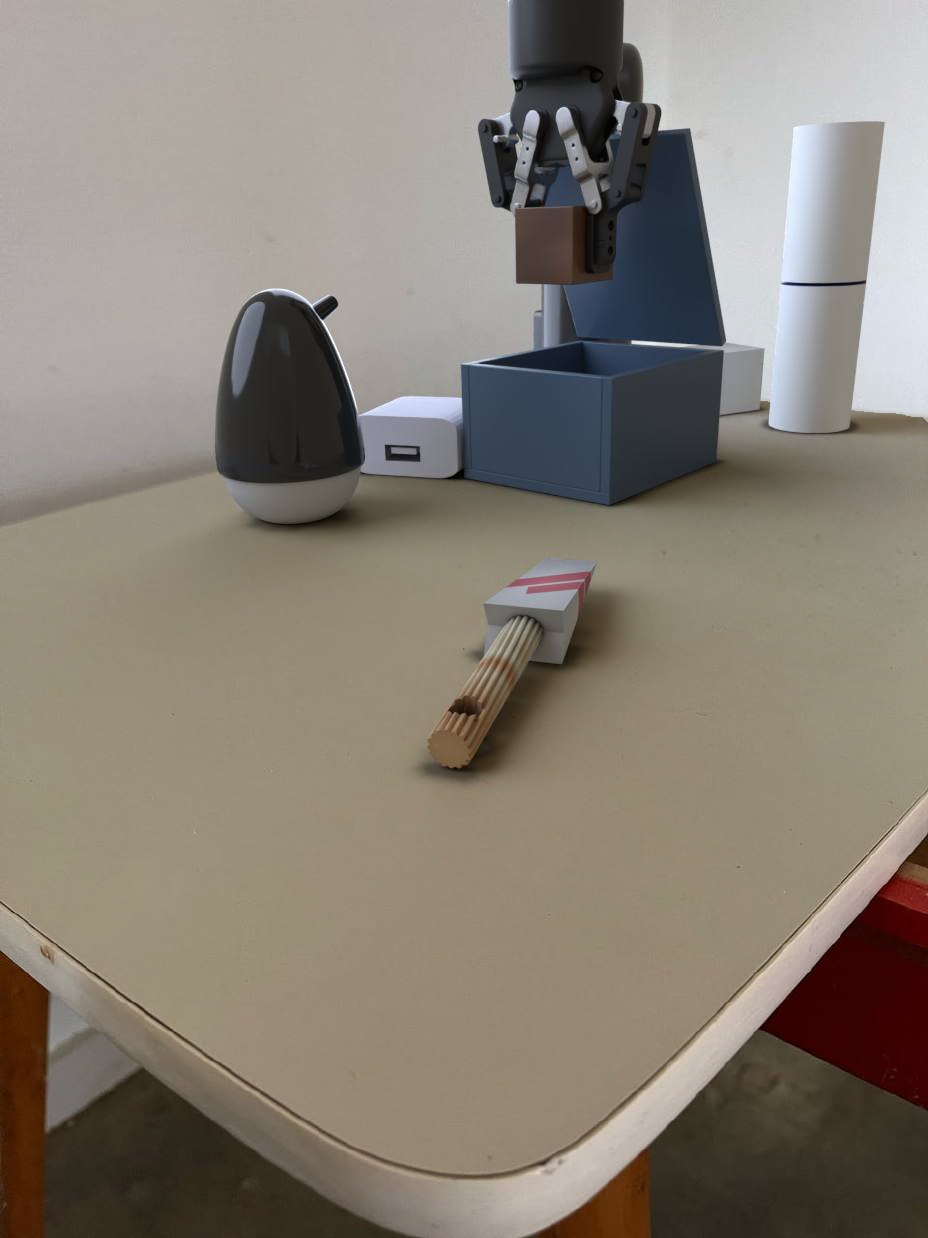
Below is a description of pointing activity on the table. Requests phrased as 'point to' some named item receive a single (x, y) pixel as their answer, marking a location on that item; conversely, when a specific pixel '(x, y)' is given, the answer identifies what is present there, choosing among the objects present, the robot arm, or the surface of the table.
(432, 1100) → the table surface
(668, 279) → the lid
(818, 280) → the cylindrical container
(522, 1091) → the table surface
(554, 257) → the block
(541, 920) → the table surface
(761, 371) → the white cube
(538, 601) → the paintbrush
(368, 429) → the charger
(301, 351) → the pump dispenser
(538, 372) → the blue storage bin
